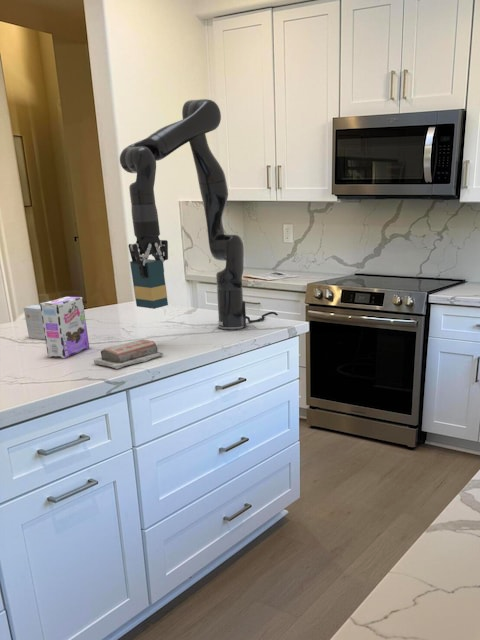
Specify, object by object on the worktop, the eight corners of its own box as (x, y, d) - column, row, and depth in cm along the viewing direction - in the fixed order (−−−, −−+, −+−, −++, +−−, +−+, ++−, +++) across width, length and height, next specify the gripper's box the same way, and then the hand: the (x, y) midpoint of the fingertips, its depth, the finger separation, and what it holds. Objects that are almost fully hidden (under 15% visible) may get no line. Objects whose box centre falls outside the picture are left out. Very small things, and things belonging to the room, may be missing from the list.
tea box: (129, 261, 188) (147, 263, 184) (144, 258, 193) (162, 260, 189) (136, 306, 194) (154, 308, 190) (150, 302, 199) (168, 305, 195)
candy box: (64, 358, 182) (56, 303, 176) (47, 357, 183) (38, 302, 177) (90, 348, 195) (83, 296, 189) (73, 347, 196) (66, 295, 190)
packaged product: (139, 336, 189) (162, 341, 184) (140, 352, 191) (163, 356, 186) (91, 348, 175) (114, 353, 170) (93, 364, 177) (116, 369, 172)
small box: (58, 336, 209) (53, 306, 205) (45, 340, 205) (40, 308, 201) (41, 334, 212) (36, 304, 208) (28, 337, 208) (23, 306, 204)
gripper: (135, 221, 175) (143, 280, 182) (171, 218, 187) (178, 274, 193) (118, 221, 179) (126, 279, 186) (154, 217, 190) (161, 272, 197)
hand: (152, 276), depth 190 cm, fingers closed on tea box, 6 cm apart
